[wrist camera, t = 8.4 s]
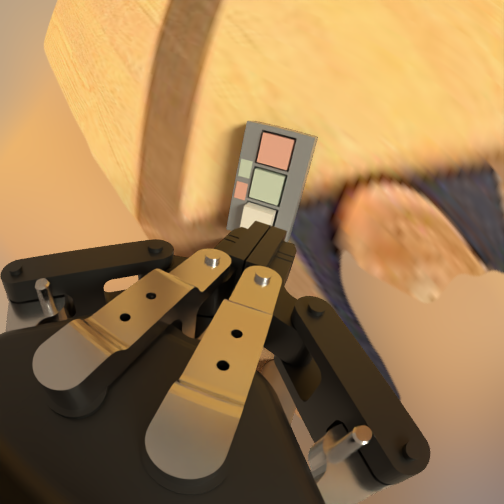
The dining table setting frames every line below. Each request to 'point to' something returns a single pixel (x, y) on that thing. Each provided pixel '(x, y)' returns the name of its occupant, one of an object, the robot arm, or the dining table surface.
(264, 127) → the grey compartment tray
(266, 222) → the key ivory
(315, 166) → the dining table surface
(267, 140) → the key coral
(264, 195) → the key sage
